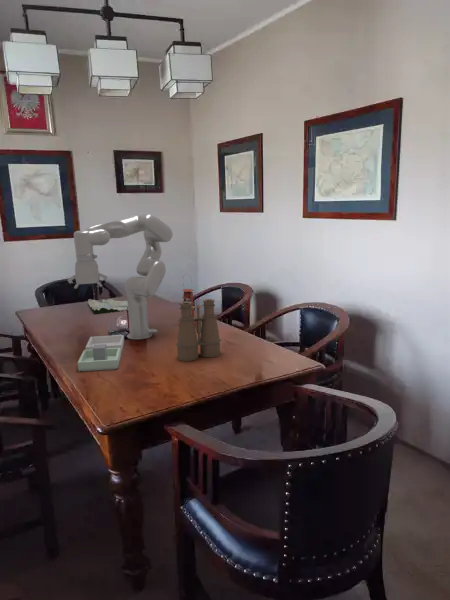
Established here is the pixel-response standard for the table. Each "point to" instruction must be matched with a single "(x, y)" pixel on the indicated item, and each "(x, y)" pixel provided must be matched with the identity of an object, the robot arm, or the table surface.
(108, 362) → the bin
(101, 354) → the stone block
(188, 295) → the lantern
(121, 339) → the bin
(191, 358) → the binoculars
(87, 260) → the robot arm
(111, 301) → the topographic map model
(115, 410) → the table surface
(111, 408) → the table surface
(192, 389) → the table surface
